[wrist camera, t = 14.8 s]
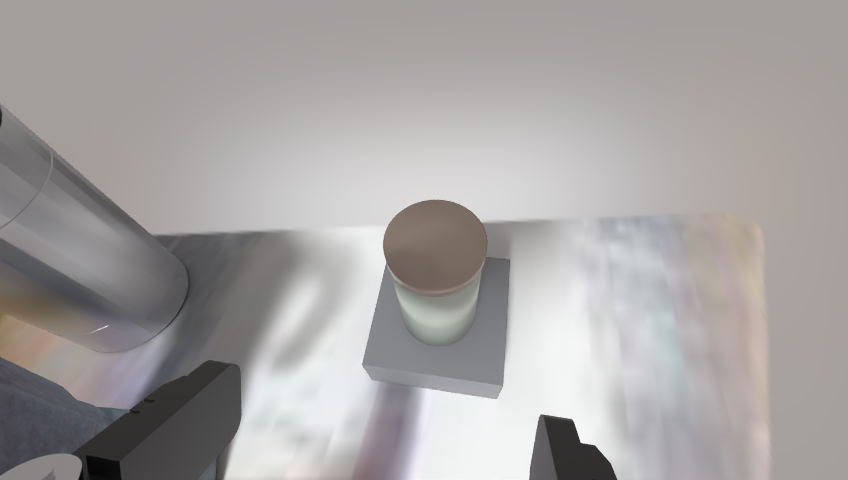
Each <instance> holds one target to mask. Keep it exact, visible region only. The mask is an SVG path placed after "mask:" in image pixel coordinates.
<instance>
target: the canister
mask: <svg viewBox="0 0 848 480" xmlns="http://www.w3.org/2000/svg"><path fill="white" fill-rule="evenodd" d="M383 249H384V255H385V258H386V262H387V266H388V269H389V271H390V273H391V275H392V278H393V281H394V285H395V289H396V293H397V297H398V301H399V304H400V308H401V312H402V316H403V320H404V323H405V326H406V328H407V329H408V331H409V332H410V333H411V335H412V336H413V337H414V338H416V339H417V340H419V341H420V342H422V343H424V344H427V345H431V346H447V345H451V344H454V343H456V342H458V341H459V340H461V339H462V338H463V337H465V336H466V335H467V333H468V332H469V331H470V329H471V327H472V325H473V323H474V320H475V314H476V307H477V299H478V292H479V285H480V278H481V271H482V269H483V266H484V263H485V257H486V251H487V236H486V232H485V229H484V227H483V225H482V223H481V222H480V220H479V219H478V218H477V217H476V216H475V215H474V214H473V213H472V212H471V211H470V210H468V209H467V208H465V207H463V206H461V205H459V204H457V203H454V202H450V201H444V200H428V201H422V202H419V203H416V204H413V205H411V206H409V207H407V208H405V209H404V210H402V211H401V212H400V213H398V214H397V215H396V216H395V217H394V218H393V219H392V221H391V222H390V224H389V225H388V227H387V229H386V232H385V235H384V240H383Z"/></svg>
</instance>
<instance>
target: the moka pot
mask: <svg viewBox="0 0 848 480" xmlns="http://www.w3.org/2000/svg"><path fill="white" fill-rule="evenodd" d="M129 412H130V410H125V409H115V408H105V407H95V406H94V405H91V404H88V403H85V402H82V401H79V400H76V399H75V398H74V397H73V396H72V395H71V394H70V393H69V392H68V391H67V390H66V389H64V388H63V387H62V386H60V385H58V384H56V383H54V382H52V381H50V380H48V379H46V378H43V377H41V376H39V375H37V374H35V373H32V372H30V371H28V370H26V369H24V368H22V367H20V366H18V365H16V364H14V363H12V362H10V361H8V360H5V359H3V358H1V357H0V476H1V475H2V474H4V473H5V472H7V471H9V470H10V469H12V468H14V467H16V466H18V465H20V464H22V463H25V462H27V461H29V460H32V459H35V458H38V457H42V456H46V455H51V454H72V453H73V452H74V451H76V450H77V449H78V448H80V447H81V446H82V445H84V444H85V443H86V442H88V441H89V440H90V439H92V438H93V437H94V436H96V435H97V434H98V433H100V432H101V431H102V430H104V429H105V428H106V427H108V426H109V425H110V424H112V423H113V422H114V421H116V420H117V419H118V418H120V417H121V416H122V415H124V414H125V413H129ZM216 473H217V459H215V460H214V461H213V462H212V463H211V465H210V466H209V467H208V468H207V469H206V470H205V472H204V473H203V474H202V475H201V476H200V477H199V479H198V480H216Z"/></svg>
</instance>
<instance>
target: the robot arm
mask: <svg viewBox="0 0 848 480" xmlns="http://www.w3.org/2000/svg"><path fill="white" fill-rule="evenodd" d="M187 289H188V274H187V271H186V269H185V266H184V265H183V264H182V262H181V261H180V260H179V259H178V258H177V257H176V256H174V255H173V254H172V253H171V252H170V251H169V250H168V249H166V248H165V247H164V246H163V245H162V244H161V243H160V242H158V241H157V240H156V239H155V238H154V237H153V236H152V235H151V234H150V233H148V232H147V231H146V230H145V229H144V228H143V227H142V226H141V225H139V224H138V223H137V222H136V221H135V220H134V219H132V218H131V217H130V216H129V215H128V214H127V213H126V212H125V211H123V210H122V209H121V208H120V207H119V206H118V205H116V204H115V203H114V202H113V201H112V200H111V199H110V198H108V197H107V196H106V195H105V194H104V193H103V192H102V191H101V190H99V189H98V188H97V187H96V186H95V185H94V184H92V183H91V182H90V181H89V180H88V179H87V178H86V177H84V176H83V175H82V174H81V173H80V172H79V171H78V170H76V169H75V168H74V167H73V166H72V165H71V164H70V163H69V162H67V161H66V160H65V159H64V158H63V157H62V156H60V155H59V154H58V153H57V152H56V151H55V150H54V149H53V148H51V147H50V146H49V145H48V144H47V143H46V142H45V141H43V140H42V139H41V138H40V137H38V136H37V135H36V134H35V133H34V132H33V131H31V130H30V129H29V128H28V127H27V126H26V125H25V124H24V123H22V122H21V121H20V120H19V119H18V118H17V117H16V116H14V115H13V114H12V113H11V112H10V111H9V110H8V109H6V108H5V107H4V106H3V105H2V104H1V103H0V312H2V313H5V314H7V315H10V316H12V317H15V318H17V319H19V320H22V321H24V322H27V323H29V324H32V325H34V326H36V327H39V328H41V329H44V330H46V331H48V332H50V333H53V334H55V335H58V336H60V337H63V338H65V339H68V340H70V341H72V342H75V343H77V344H80V345H82V346H85V347H87V348H89V349H92V350H94V351H99V352H105V353H110V352H120V351H124V350H128V349H132V348H134V347H136V346H138V345H141V344H143V343H145V342H146V341H148V340H150V339H151V338H153V337H154V336H156V335H157V334H158V333H159V332H161V331H162V330H163V329H164V328H165V327H166V326H167V325H168V324H169V323H170V322H171V321H172V320H173V318H174V317H175V316H176V315H177V313H178V311H179V310H180V308H181V307H182V305H183V302H184V300H185V297H186V295H187ZM240 420H241V380H240V369H239V367H238V365H236V364H230V363H224V362H218V361H212V360H209V361H206V362H204V363H203V364H202V365H200V366H199V367H198V368H197V369H195V370H194V371H193V372H191V373H190V374H189V375H188V376H183V377H181V378H178V379H176V380H174V381H172V382H169V383H167V384H165V385H163V386H161V387H160V388H159V389H157V390H156V391H155V392H153V393H152V394H151V395H149V396H148V397H147V398H145V400H144V402H142V401H141V402H140V403H138V404H137V405H136V406H134V407H133V408H132V409H130V412H129V413H125V414H124V415H122V416H121V417H120V418H118V419H117V420H116V421H114V422H113V423H112V424H110V425H109V426H108V427H106V428H105V429H104V430H102V431H101V432H100V433H98V434H97V435H96V436H94V437H93V438H92V439H90V440H89V441H88V442H86V443H85V444H84V445H82V446H81V447H80V448H78V449H77V450H76V451H74V452H73V453H72V454H51V455H46V456H42V457H38V458H35V459H32V460H29V461H27V462H25V463H22V464H20V465H18V466H16V467H14V468H12V469H10V470H9V471H7V472H5V473H4V474H2V475H1V476H0V480H198V479H199V477H200V476H201V475H202V474H203V473H204V472H205V470H206V469H207V468H208V467H209V466H210V465H211V463H212V462H213V461H214V460H215V459H216V458H217V456H218V455H219V454H220V453H221V452H222V451H223V449H224V448H225V447H226V446H227V445H228V443H229V442H230V441H231V440H232V439H233V437H234V436H235V434H236V432H237V430H238V427H239V424H240ZM529 480H617V478H616V475H615V473H614V470H613V468H612V465H611V463H610V462H609V461H608V460H607V459H606V458H605V456H604V455H603V454H602V453H601V452H600V451H599V450H598V448H597V447H596V446H595V445H589V444H583V443H580V439H579V436H578V433H577V430H576V427H575V424H574V422H573V420H572V419H567V418H561V417H555V416H549V415H542V414H541V415H540V417H539V420H538V426H537V431H536V437H535V443H534V449H533V454H532V460H531V466H530V477H529Z"/></svg>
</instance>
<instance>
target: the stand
mask: <svg viewBox="0 0 848 480" xmlns="http://www.w3.org/2000/svg"><path fill="white" fill-rule="evenodd" d="M509 268H510V260H507V259H498V258H488V257H485V263H484V266H483V269H482V271H481V278H480V285H479V292H478V299H477V307H476V314H475V320H474V323H473V325H472V327H471V329H470V331H469V332H468V333H467V335H466V336H465V337H463V338H462V339H461V340H459V341H458V342H456V343H454V344H451V345H447V346H431V345H427V344H424V343H422V342H420V341H419V340H417V339H416V338H414V337H413V336H412V335H411V333H410V332H409V331H408V329H407V328H406V326H405V323H404V320H403V316H402V312H401V308H400V304H399V301H398V297H397V293H396V289H395V285H394V281H393V278H392V275H391V273H390V271H389V269H388V266H387V262H386V266H385V271H384V275H383V279H382V283H381V287H380V292H379V296H378V300H377V304H376V308H375V313H374V317H373V321H372V325H371V329H370V334H369V338H368V342H367V346H366V350H365V355H364V359H363V363H362V365H363V367H364V368H365V370H366V371H367V373H368V374H369V376H370V377H371V379H372V380H377V381H383V382H390V383H396V384H402V385H409V386H415V387H422V388H428V389H435V390H441V391H448V392H454V393H461V394H467V395H474V396H480V397H487V398H493V399H497V397H498V395H499V393H500V391H501V389H502V387H503V377H504V359H505V341H506V323H507V304H508V286H509Z"/></svg>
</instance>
